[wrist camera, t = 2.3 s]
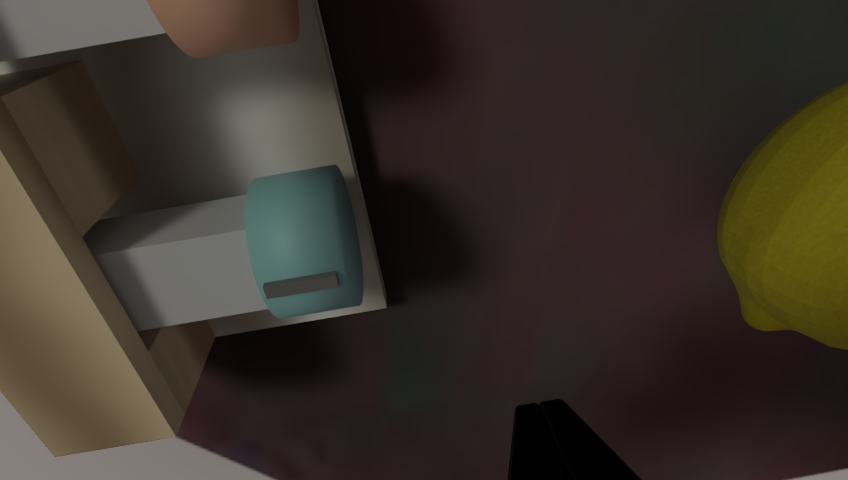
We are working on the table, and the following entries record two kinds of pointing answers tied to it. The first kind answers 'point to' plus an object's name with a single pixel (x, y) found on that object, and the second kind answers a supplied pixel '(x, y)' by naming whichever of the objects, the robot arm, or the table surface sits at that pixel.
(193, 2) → the terracotta knob
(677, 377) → the table surface
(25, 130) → the mount
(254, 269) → the teal knob
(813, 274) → the lemon
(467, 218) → the table surface
